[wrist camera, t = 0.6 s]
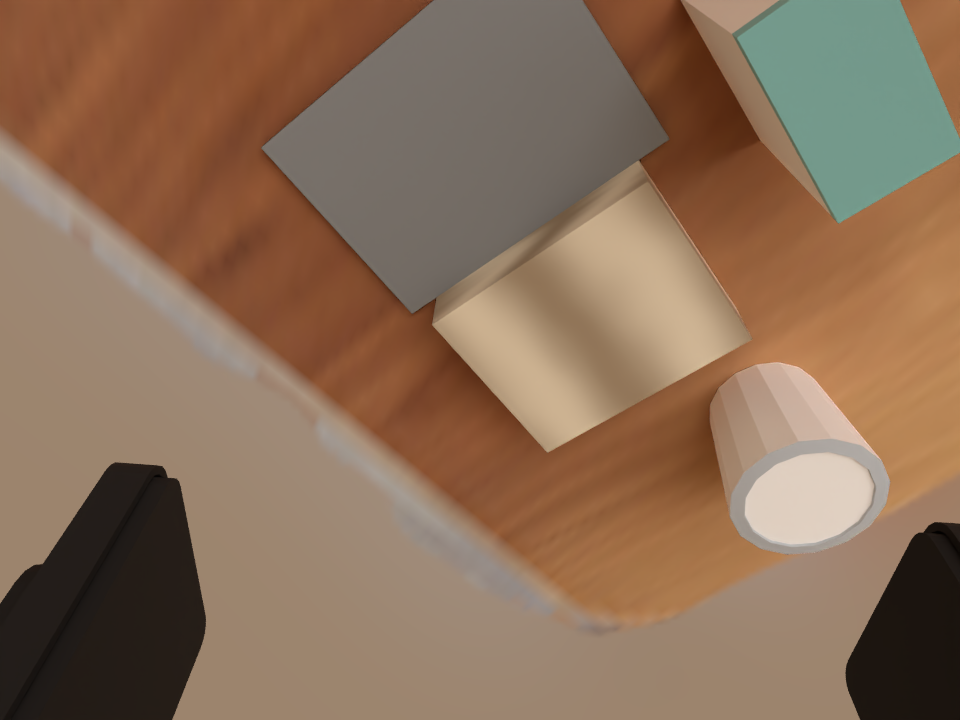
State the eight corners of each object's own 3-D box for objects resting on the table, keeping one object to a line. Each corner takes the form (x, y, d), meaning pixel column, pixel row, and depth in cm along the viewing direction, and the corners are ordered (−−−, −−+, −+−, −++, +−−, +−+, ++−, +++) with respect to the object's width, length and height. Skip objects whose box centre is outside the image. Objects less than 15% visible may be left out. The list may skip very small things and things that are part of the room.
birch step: (636, 157, 33) (648, 181, 30) (735, 306, 36) (752, 339, 34) (437, 293, 36) (431, 324, 34) (544, 416, 40) (547, 452, 38)
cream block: (774, -79, 28) (874, -60, 20) (852, 81, 31) (964, 149, 23) (677, -6, 29) (736, 37, 22) (760, 140, 32) (838, 223, 25)
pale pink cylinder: (712, 347, 38) (750, 435, 32) (851, 355, 38) (915, 445, 32) (684, 455, 41) (714, 552, 35) (811, 463, 41) (861, 560, 36)
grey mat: (530, -83, 28) (530, -82, 28) (668, 136, 32) (669, 139, 32) (263, 145, 33) (261, 147, 33) (413, 309, 37) (412, 313, 37)
